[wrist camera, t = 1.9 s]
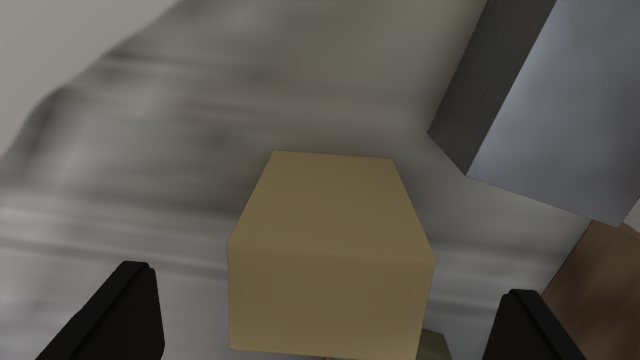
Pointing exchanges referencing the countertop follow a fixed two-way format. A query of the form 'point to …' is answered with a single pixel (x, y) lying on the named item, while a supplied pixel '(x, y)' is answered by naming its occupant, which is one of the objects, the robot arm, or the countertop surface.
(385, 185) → the tan rectangular block
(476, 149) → the grey stone cube
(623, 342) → the rack
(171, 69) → the countertop surface
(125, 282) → the robot arm
